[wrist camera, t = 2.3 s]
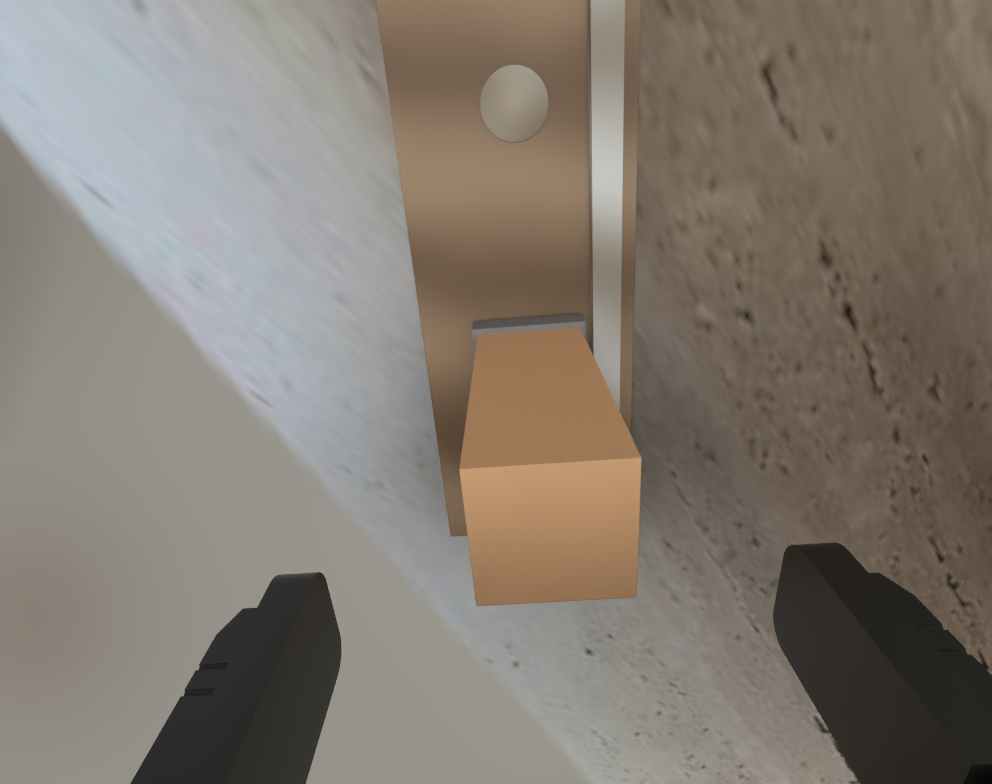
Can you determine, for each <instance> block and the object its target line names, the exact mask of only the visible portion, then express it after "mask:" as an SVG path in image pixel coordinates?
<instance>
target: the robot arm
mask: <svg viewBox="0 0 992 784" xmlns="http://www.w3.org/2000/svg"><path fill="white" fill-rule="evenodd" d="M773 620H774V628H775V632H776V636H777V639H778V642H779V644H780V647H781V649H782V651H783V652H784V654H785V656H786V658H787V659H788V661H789V663H790V664H791V666H792V668H793V669H794V671H795V673H796V675H797V676H798V678H799V680H800V681H801V683H802V685H803V686H804V688H805V690H806V692H807V693H808V695H809V697H810V698H811V700H812V702H813V703H814V705H815V707H816V709H817V710H818V712H819V714H820V715H821V717H822V719H823V720H824V722H825V724H826V726H827V727H828V729H829V731H830V732H831V734H832V736H833V737H834V739H835V741H836V742H837V744H838V746H839V748H840V749H841V751H842V753H843V754H844V756H845V758H846V759H847V761H848V763H849V765H850V766H851V768H852V770H853V771H854V773H855V775H856V776H857V778H858V780H859V782H860V783H861V784H992V675H991V674H990V673H989V672H988V671H987V670H986V669H985V668H984V667H983V666H982V665H981V664H980V663H979V662H978V661H977V660H976V659H975V658H974V657H973V656H972V655H968V654H967V653H966V650H965V649H966V648H965V647H964V646H963V645H962V644H961V643H960V642H959V641H958V640H957V639H956V638H955V637H954V636H953V635H952V634H951V633H950V632H949V631H948V630H944V629H943V628H942V624H941V623H940V621H939V620H938V619H937V618H936V617H935V616H934V615H933V614H932V613H931V612H930V611H929V610H928V609H927V608H926V607H925V606H924V605H923V604H922V603H921V602H920V601H919V600H918V599H917V598H916V597H915V596H914V595H913V594H911V593H910V592H908V591H907V590H905V589H903V588H902V587H900V586H899V585H897V584H896V583H894V582H893V581H891V580H890V579H888V578H886V577H885V576H883V575H882V574H880V573H868V572H867V571H866V570H865V569H864V567H863V566H862V565H861V564H860V563H859V562H858V561H857V560H856V559H855V558H854V556H853V555H852V554H851V553H850V552H849V551H848V550H847V549H846V548H845V547H844V546H842V545H841V544H839V543H820V544H803V545H791V546H789V547H787V549H786V550H785V553H784V557H783V562H782V567H781V573H780V578H779V584H778V589H777V594H776V600H775V605H774V611H773ZM340 661H341V637H340V632H339V629H338V625H337V621H336V617H335V613H334V609H333V606H332V601H331V598H330V594H329V590H328V586H327V582H326V579H325V577H324V575H323V574H322V573H320V572H319V573H303V574H285V575H277V576H276V577H274V579H272V581H271V583H270V585H269V586H268V588H267V590H266V592H265V594H264V596H263V598H262V600H261V602H260V604H259V606H258V607H257V608H247V609H242V610H241V611H240V612H239V613H238V614H237V615H236V616H235V617H234V618H233V619H232V620H231V621H230V622H229V623H228V624H227V625H226V626H225V627H224V628H223V629H222V630H221V631H220V632H219V633H218V634H217V635H216V637H215V638H214V640H213V642H212V643H211V645H210V647H209V649H208V651H207V652H206V654H205V656H204V657H203V659H202V661H201V663H200V664H199V665H200V668H199V670H196V671H195V673H194V675H193V676H192V678H191V680H190V682H189V683H188V685H187V687H186V688H185V694H184V696H183V697H180V699H179V701H178V702H177V704H176V706H175V708H174V709H173V711H172V713H171V715H170V716H169V718H168V720H167V721H166V723H165V725H164V727H163V728H162V730H161V732H160V733H159V735H158V737H157V739H156V740H155V742H154V744H153V746H152V748H151V749H150V751H149V753H148V754H147V756H146V758H145V759H144V761H143V763H142V765H141V766H140V768H139V770H138V772H137V773H136V775H135V777H134V779H133V780H132V782H131V784H306V780H307V777H308V774H309V770H310V767H311V764H312V760H313V757H314V753H315V750H316V747H317V743H318V740H319V737H320V733H321V730H322V727H323V723H324V720H325V717H326V713H327V710H328V706H329V703H330V700H331V696H332V693H333V690H334V686H335V683H336V680H337V676H338V672H339V668H340Z"/></svg>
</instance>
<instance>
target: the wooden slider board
mask: <svg viewBox="0 0 992 784" xmlns="http://www.w3.org/2000/svg"><path fill="white" fill-rule="evenodd" d="M376 5H377V12H378V19H379V26H380V33H381V41H382V48H383V55H384V62H385V69H386V76H387V83H388V91H389V98H390V105H391V112H392V119H393V126H394V133H395V141H396V148H397V155H398V162H399V169H400V176H401V183H402V191H403V198H404V205H405V212H406V219H407V226H408V233H409V241H410V248H411V255H412V262H413V269H414V276H415V283H416V291H417V298H418V305H419V312H420V319H421V326H422V333H423V341H424V348H425V355H426V362H427V369H428V376H429V383H430V391H431V398H432V405H433V412H434V419H435V426H436V433H437V441H438V448H439V455H440V462H441V469H442V476H443V483H444V490H445V498H446V505H447V512H448V519H449V526H450V533H451V536H465V535H467V527H466V519H465V511H464V503H463V495H462V487H461V479H460V471H459V468H460V461H461V453H462V446H463V439H464V432H465V424H466V417H467V410H468V403H469V395H470V388H471V381H472V373H473V366H474V359H475V358H474V348H473V338H472V325H473V322H478V321H491V320H504V319H518V318H531V317H544V316H558V315H571V314H582V316H583V318H584V320H585V330H586V341H587V344H588V346H589V348H590V350H591V352H592V354H593V356H594V358H595V360H596V363H597V365H598V367H599V369H600V371H601V373H602V375H603V377H604V379H605V382H606V384H607V386H608V388H609V390H610V392H611V394H612V396H613V399H614V401H615V403H616V405H617V407H618V409H619V411H620V413H621V415H622V418H623V420H624V422H625V424H626V426H627V428H628V430H629V432H630V434H631V408H632V364H633V321H634V277H635V233H636V189H637V146H638V102H639V58H640V15H641V0H376Z"/></svg>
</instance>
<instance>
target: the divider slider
mask: <svg viewBox="0 0 992 784" xmlns="http://www.w3.org/2000/svg"><path fill="white" fill-rule="evenodd" d="M472 338H473V348H474V358H475V359H474V366H473V373H472V381H471V388H470V395H469V403H468V410H467V417H466V424H465V432H464V439H463V446H462V453H461V461H460V468H459V471H460V479H461V487H462V495H463V503H464V511H465V519H466V527H467V535H468V543H469V551H470V559H471V567H472V575H473V583H474V591H475V599H476V606H485V605H504V604H523V603H542V602H560V601H579V600H598V599H617V598H635V597H637V579H638V548H639V517H640V487H641V456H640V454H639V451H638V449H637V447H636V445H635V443H634V441H633V439H632V437H631V434H630V432H629V430H628V428H627V426H626V424H625V422H624V420H623V418H622V415H621V413H620V411H619V409H618V407H617V405H616V403H615V401H614V399H613V396H612V394H611V392H610V390H609V388H608V386H607V384H606V382H605V379H604V377H603V375H602V373H601V371H600V369H599V367H598V365H597V363H596V360H595V358H594V356H593V354H592V352H591V350H590V348H589V346H588V344H587V341H586V330H585V320H584V318H583V316H582V314H571V315H558V316H544V317H531V318H518V319H504V320H491V321H478V322H473V325H472Z"/></svg>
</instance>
